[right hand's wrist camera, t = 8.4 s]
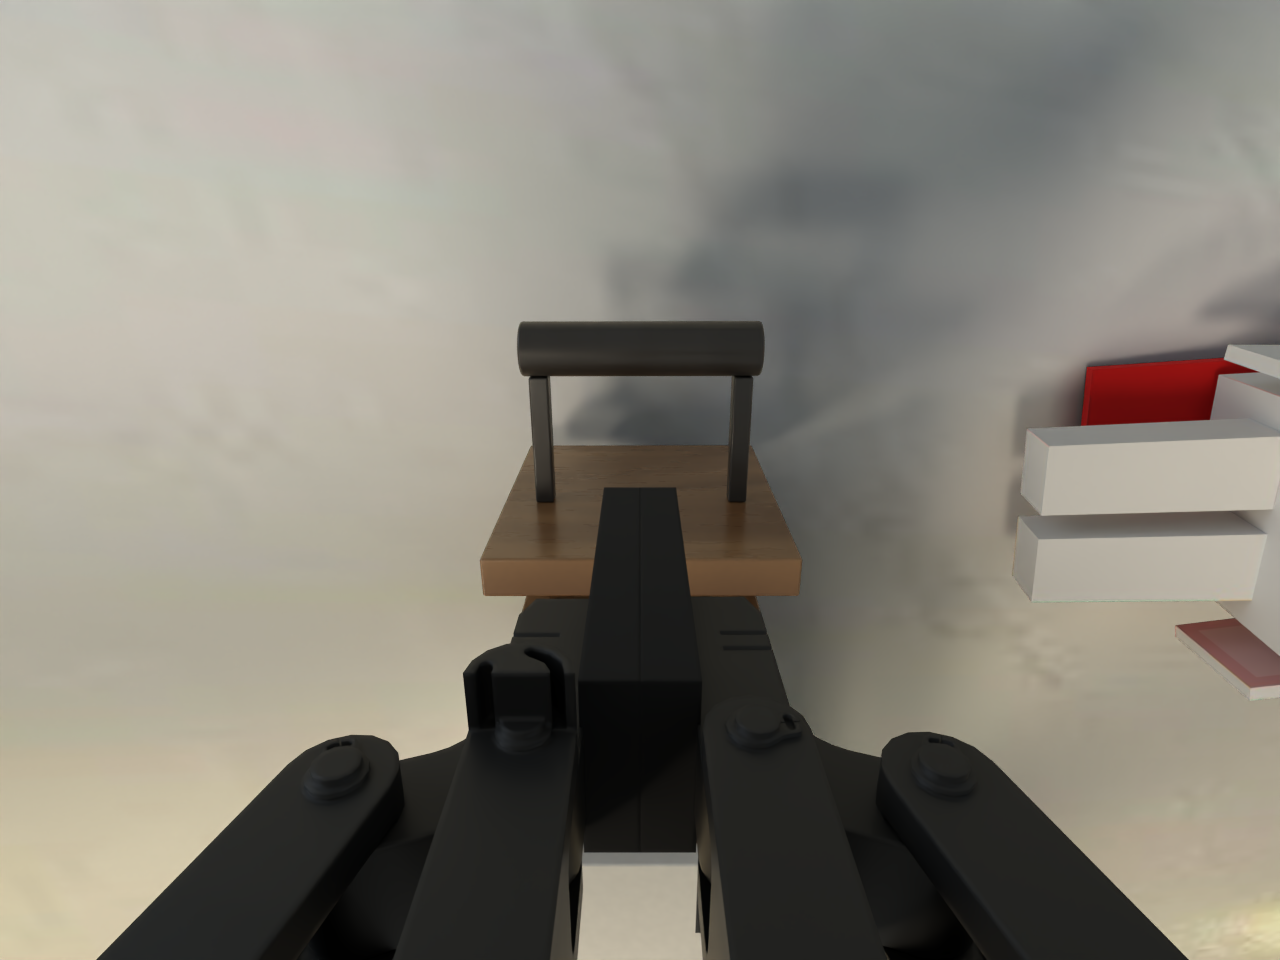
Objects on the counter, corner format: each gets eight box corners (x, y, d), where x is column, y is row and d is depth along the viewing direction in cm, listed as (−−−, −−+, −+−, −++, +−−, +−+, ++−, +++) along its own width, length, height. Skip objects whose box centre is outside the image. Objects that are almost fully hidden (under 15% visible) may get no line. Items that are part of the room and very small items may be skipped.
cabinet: (533, 649, 33) (482, 865, 23) (749, 649, 33) (800, 865, 23) (553, 938, 41) (521, 1206, 30) (730, 938, 41) (762, 1206, 30)
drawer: (521, 297, 27) (458, 349, 17) (760, 297, 26) (822, 348, 17) (552, 795, 36) (521, 1000, 26) (731, 795, 35) (761, 1000, 26)
